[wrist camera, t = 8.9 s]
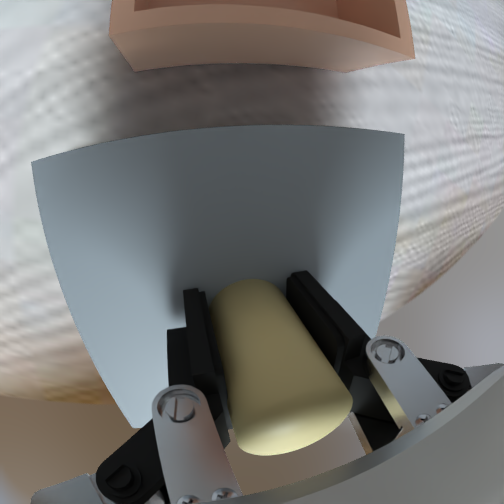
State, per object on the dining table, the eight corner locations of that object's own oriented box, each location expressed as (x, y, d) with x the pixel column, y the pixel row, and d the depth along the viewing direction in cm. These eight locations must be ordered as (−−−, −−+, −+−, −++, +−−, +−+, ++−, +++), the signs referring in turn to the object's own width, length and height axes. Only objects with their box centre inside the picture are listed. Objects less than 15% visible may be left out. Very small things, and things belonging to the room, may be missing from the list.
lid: (391, 132, 10) (515, 154, 5) (355, 369, 15) (407, 439, 10) (41, 159, 7) (-81, 202, 2) (133, 416, 12) (136, 511, 7)
